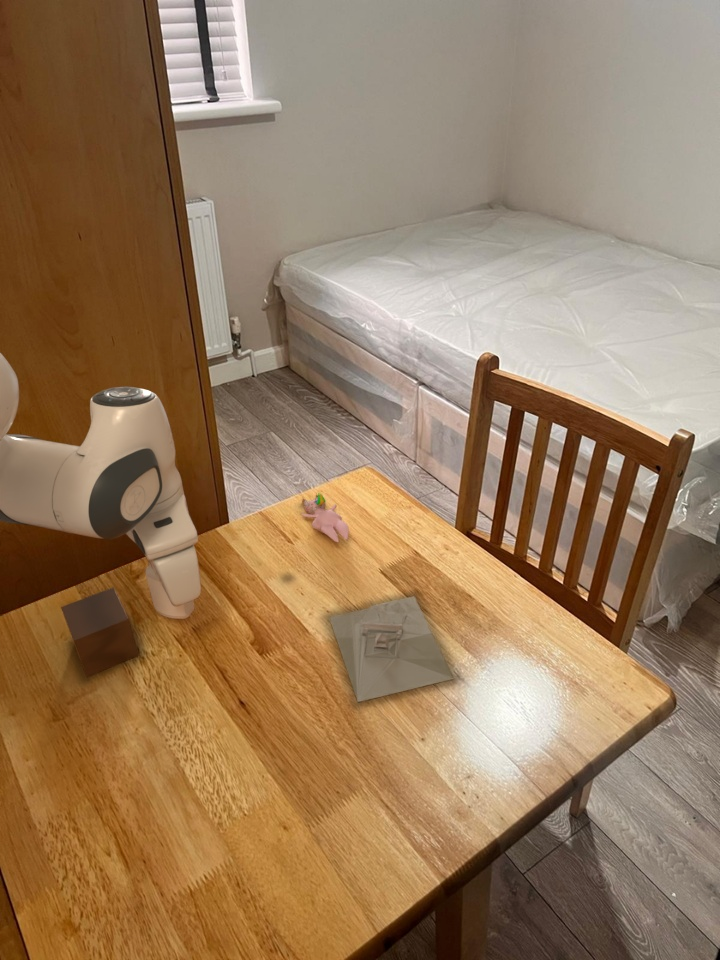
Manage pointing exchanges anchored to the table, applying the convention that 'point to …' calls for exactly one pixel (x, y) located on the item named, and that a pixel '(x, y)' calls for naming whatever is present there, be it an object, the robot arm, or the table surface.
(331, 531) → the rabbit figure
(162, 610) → the eye dropper bottle
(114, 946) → the table surface
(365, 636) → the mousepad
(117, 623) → the walnut block
